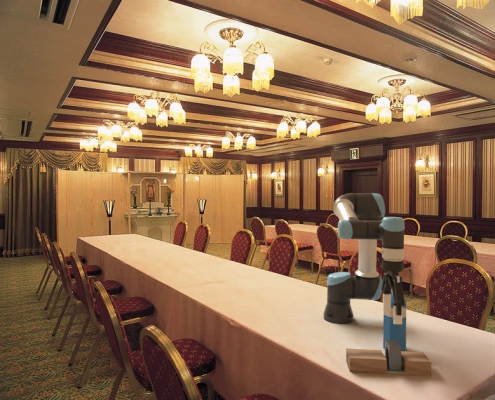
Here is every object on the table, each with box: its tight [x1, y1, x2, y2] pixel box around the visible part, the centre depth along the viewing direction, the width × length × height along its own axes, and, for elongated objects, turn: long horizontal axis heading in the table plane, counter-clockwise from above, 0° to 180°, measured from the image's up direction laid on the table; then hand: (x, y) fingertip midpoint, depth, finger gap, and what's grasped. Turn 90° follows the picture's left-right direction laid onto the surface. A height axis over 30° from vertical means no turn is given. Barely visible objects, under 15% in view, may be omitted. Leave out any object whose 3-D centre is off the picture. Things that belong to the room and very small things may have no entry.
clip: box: [384, 339, 401, 372], centre depth 132 cm, size 6×4×9 cm, turn 173°
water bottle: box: [382, 289, 407, 351], centre depth 150 cm, size 9×9×25 cm
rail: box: [345, 348, 433, 377], centre depth 132 cm, size 8×28×5 cm, turn 84°
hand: (392, 317), depth 132 cm, fingers open, 13 cm apart
